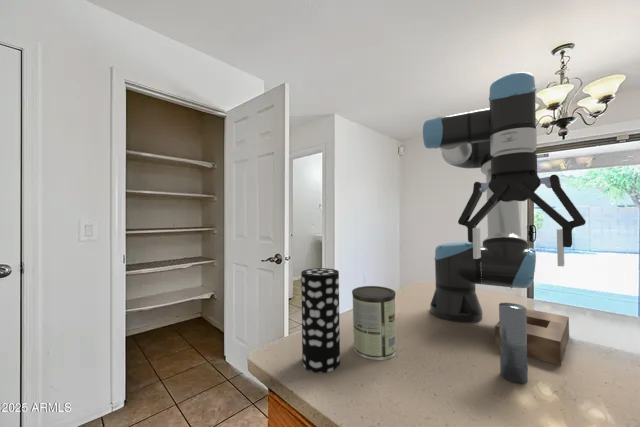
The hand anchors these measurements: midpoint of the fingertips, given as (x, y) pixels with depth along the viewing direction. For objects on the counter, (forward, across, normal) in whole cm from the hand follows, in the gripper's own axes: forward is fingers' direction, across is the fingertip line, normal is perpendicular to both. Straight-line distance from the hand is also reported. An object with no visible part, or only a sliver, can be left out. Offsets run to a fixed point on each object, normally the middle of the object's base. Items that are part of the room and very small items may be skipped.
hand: (515, 261), depth 54 cm
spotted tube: (+23, -32, -23) cm, 46 cm away
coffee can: (+23, -27, -10) cm, 37 cm away
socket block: (+23, 0, +22) cm, 31 cm away
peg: (+23, -1, 0) cm, 23 cm away
